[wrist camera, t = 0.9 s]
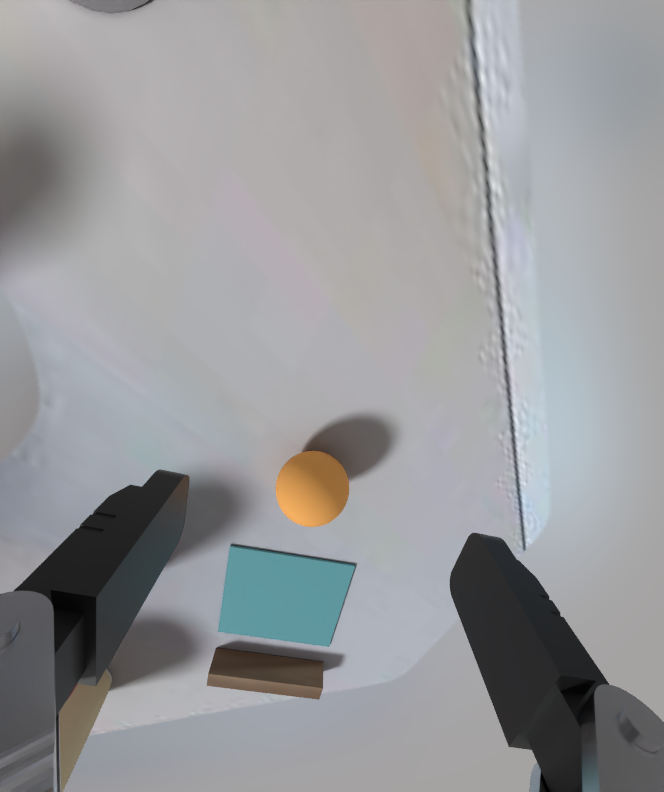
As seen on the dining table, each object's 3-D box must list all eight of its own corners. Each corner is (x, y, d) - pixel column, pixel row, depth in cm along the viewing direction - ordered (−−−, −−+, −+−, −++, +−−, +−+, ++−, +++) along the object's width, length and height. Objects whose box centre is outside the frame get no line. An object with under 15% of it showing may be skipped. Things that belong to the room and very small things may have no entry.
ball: (287, 432, 27) (276, 471, 22) (354, 444, 27) (360, 486, 22) (276, 488, 29) (264, 537, 24) (339, 499, 29) (341, 549, 24)
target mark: (230, 544, 31) (230, 546, 31) (354, 564, 32) (355, 566, 32) (218, 629, 35) (218, 631, 35) (328, 644, 36) (328, 646, 36)
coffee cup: (16, 663, 37) (-119, 834, 26) (81, 638, 36) (-32, 807, 25) (74, 707, 40) (-24, 877, 29) (136, 685, 39) (58, 855, 28)
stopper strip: (216, 647, 36) (208, 673, 34) (323, 662, 37) (322, 688, 35) (214, 659, 37) (206, 685, 35) (319, 672, 38) (319, 699, 36)
